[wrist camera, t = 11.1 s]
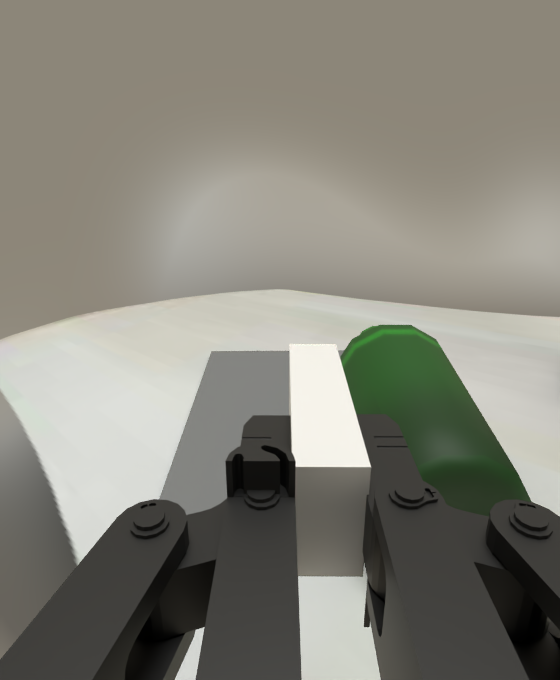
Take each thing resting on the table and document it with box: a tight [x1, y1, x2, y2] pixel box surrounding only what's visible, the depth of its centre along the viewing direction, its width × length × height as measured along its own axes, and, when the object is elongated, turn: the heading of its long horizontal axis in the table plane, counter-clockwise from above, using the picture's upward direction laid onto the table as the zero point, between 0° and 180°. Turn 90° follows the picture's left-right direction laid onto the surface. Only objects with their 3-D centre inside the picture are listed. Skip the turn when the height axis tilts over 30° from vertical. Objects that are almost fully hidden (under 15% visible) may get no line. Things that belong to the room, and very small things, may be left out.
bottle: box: [340, 325, 531, 516], centre depth 39 cm, size 11×11×28 cm
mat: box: [159, 351, 344, 515], centre depth 47 cm, size 36×22×1 cm, turn 0°
